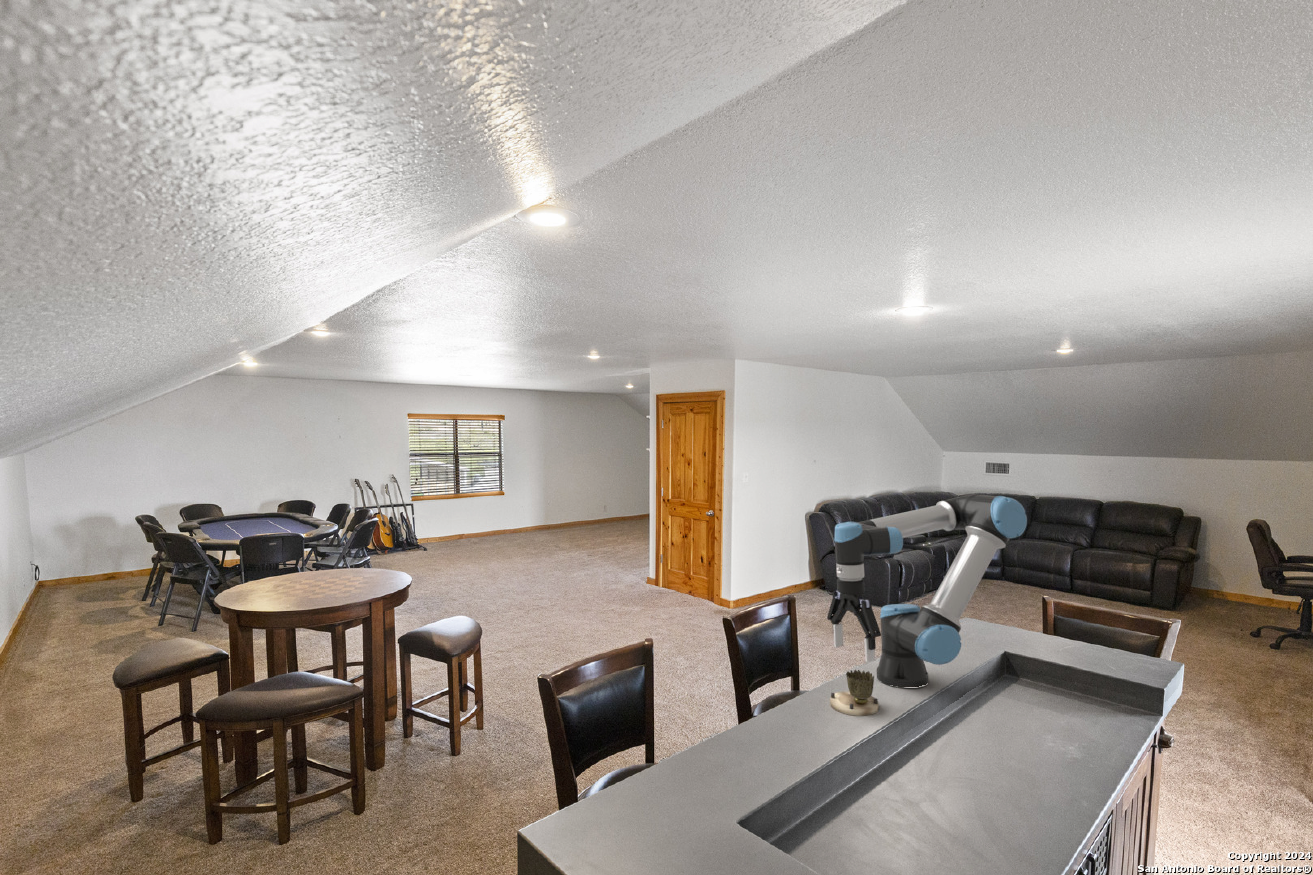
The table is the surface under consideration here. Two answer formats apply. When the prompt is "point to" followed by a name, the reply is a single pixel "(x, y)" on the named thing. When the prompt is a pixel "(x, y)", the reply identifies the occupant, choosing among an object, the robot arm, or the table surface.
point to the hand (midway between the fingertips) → (854, 653)
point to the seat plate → (852, 704)
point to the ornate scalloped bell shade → (860, 685)
